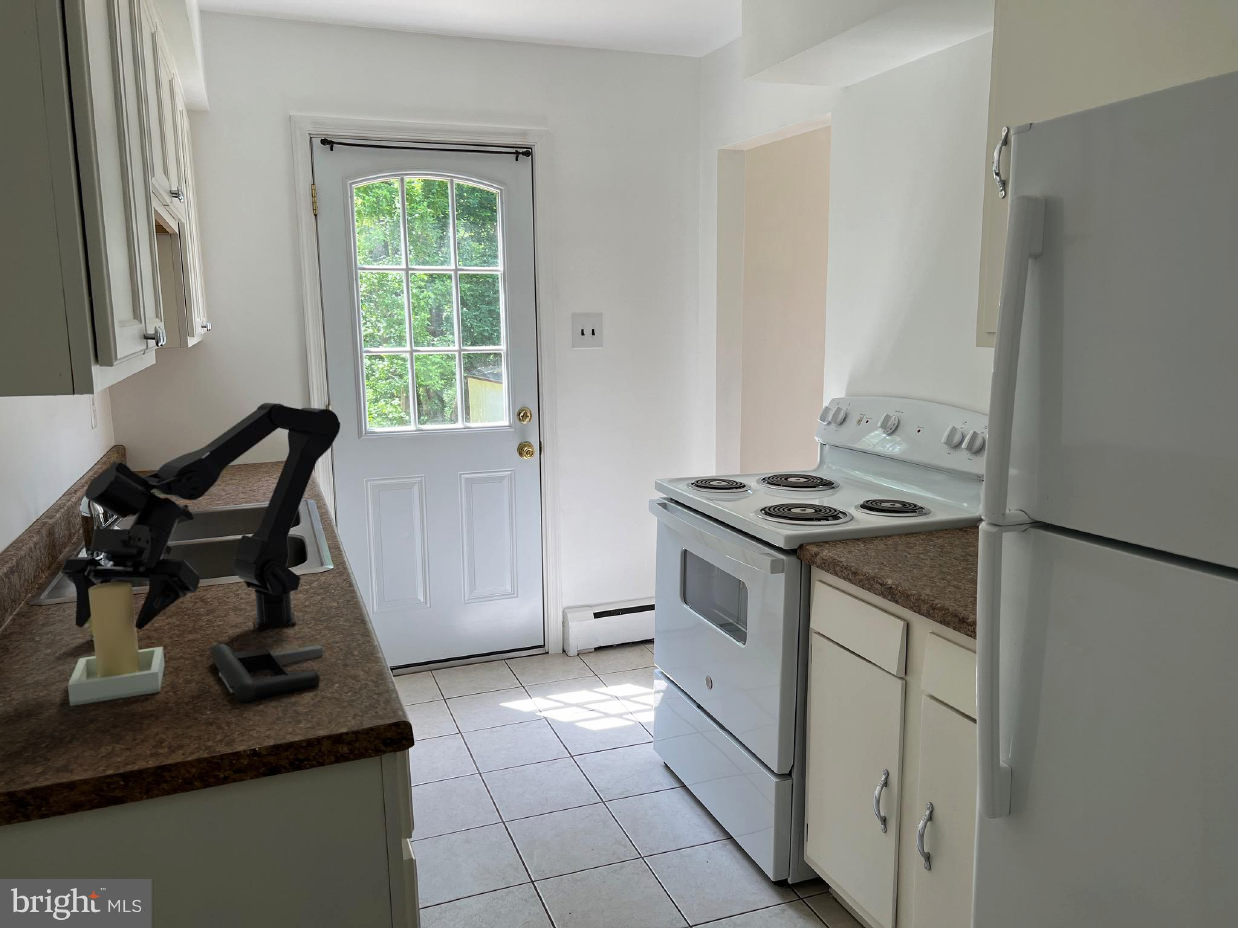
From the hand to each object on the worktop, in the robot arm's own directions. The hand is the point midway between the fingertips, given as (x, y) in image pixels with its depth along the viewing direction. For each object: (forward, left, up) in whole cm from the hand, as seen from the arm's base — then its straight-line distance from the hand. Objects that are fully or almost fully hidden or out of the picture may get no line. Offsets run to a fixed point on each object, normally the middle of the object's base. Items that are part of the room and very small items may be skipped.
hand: (108, 627), depth 128 cm
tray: (-1, +1, -9) cm, 9 cm away
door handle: (+4, +21, -10) cm, 24 cm away
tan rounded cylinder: (-1, +1, -8) cm, 8 cm away
